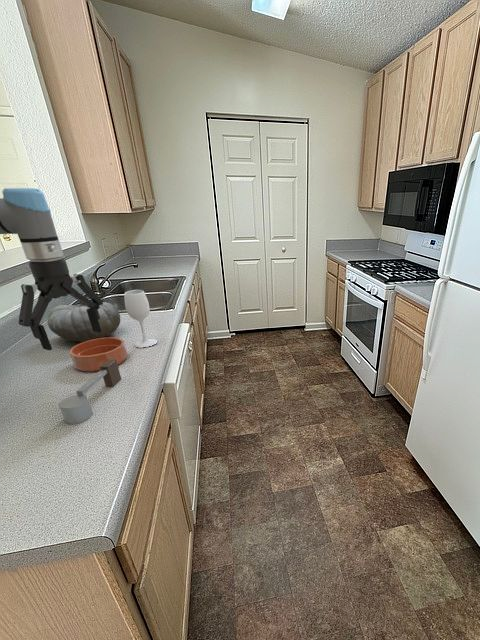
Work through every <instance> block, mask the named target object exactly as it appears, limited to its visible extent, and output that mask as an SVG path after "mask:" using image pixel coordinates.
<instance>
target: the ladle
mask: <svg viewBox="0 0 480 640" xmlns="http://www.w3.org/2000/svg"><path fill="white" fill-rule="evenodd" d="M100 369H101V370H100V371H97V373H96V374H94V375H93V376H92V377H91V378H90V379H88V380H87V381H86V382H85V383H84V384H82V385H81V386H80V387H79V388H78V389H77V390H76V391H75V392H76V394H74V395H70V396H68V397H65V398H63V400H61V401H60V402H59V403H58V407H59V411H60V413H61V414H62V417H63V421H64V422H65V423H66V424H68V425H77V424H80V423H83V422H86V421H88V420H89V419H90V418H92V416H93V414H94V412H93V409H92V406H91V404H90V401H89V398H88V395H86V393H87V392H88V391H89V390H90V389H92V388H93V387H94V386H95V385H96V384H97V383H99V381H101V380H102V379H103V382H104V385H105V387H106V388H114V387H116V385H117V384H119V382H121V380H122V376H121V372H120V368H119V365H117V362H116V360H107V361H106V362H105V363H104V364H103V365H101V366H100Z"/></svg>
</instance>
